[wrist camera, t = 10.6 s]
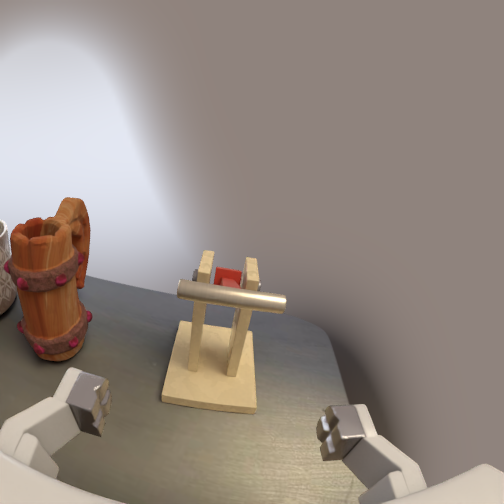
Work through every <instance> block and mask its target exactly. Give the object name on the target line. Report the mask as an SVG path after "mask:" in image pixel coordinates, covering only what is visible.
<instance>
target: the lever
mask: <svg viewBox="0 0 504 504" xmlns="http://www.w3.org/2000/svg"><path fill="white" fill-rule="evenodd" d="M241 274H242V272H241V271H239V270H234V269H228V268H222V267H216V273H215V279H214V284H207V283H201V282H195V281H189V280H183V279H180V281H179V284H178V289H177V298H180V299H185V300H191V301H197V302H203V303H209V304H216V305H222V306H228V307H235V308H242V309H249V310H256V311H263V312H271V313H279V314H283V313H284V310H285V308H286V296H285V295H279V294H272V293H265V292H259V291H252V290H245V289H241V288H240V281H241Z"/></svg>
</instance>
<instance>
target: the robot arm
mask: <svg viewBox="0 0 504 504" xmlns="http://www.w3.org/2000/svg"><path fill="white" fill-rule="evenodd" d="M108 386H109V382H108V379H107V378H103V377H100V376H97V375H94V374H91V373H87V372H84V371H82V370H78V369H75V368H72V367H70V368H69V369H68V370H67V371H66V373H65V375H64V377H63V379H62V381H61V383H60V384H59V386H58V388H57V390H56V392H55V394H54V396H53V398H52V397H48V398H46V399H44V400H42V401H41V402H39V403H37V404H35V405H33V406H31V407H29V408H28V409H26V410H24V411H22V412H20V413H18V414H16V415H14V416H13V417H11V418H9V419H7V420H5V422H4V424H3V426H2V428H1V430H0V504H126V503H122V502H119V501H115V500H112V499H108V498H105V497H102V496H99V495H96V494H93V493H90V492H87V491H84V490H81V489H79V488H76V487H73V486H71V485H68V484H66V483H63V482H61V481H59V480H56V478H57V474H58V471H59V467H58V465H57V464H56V463H55V462H54V460H53V459H52V458H51V455H52V454H54V453H55V452H56V451H57V450H59V449H60V448H61V447H63V446H64V445H65V444H66V443H68V442H69V441H70V440H71V439H73V438H74V437H75V436H76V435H78V434H79V433H80V432H81V431H83V432H86V433H89V434H92V435H96V436H99V437H101V436H102V433H103V430H104V427H105V424H106V423H105V420H104V417H105V416H107V415H108V414H109V412H110V409H111V403H112V395H111V392H110V391H109V390H108ZM325 414H326V415H324V416H322V417H321V418H320V419H319V421H318V423H317V428H316V429H317V437H318V439H319V440H320V441H321V442H322V445H321V446H320V451H321V455H322V459H323V461H331V460H342V461H343V462H344V463H345V465H346V466H347V467H348V468H349V469H350V470H351V471H352V472H353V473H354V474H355V476H356V477H357V478H358V479H359V480H360V481H361V482H362V483H363V484H364V485H365V486H366V487H367V488H368V490H367V491H365V492H364V493H363V494H361V495H360V496H359V498H358V499H359V503H360V504H504V473H503V472H501V471H499V470H498V469H496V468H494V467H492V466H491V465H488V464H481V465H478V466H476V467H474V468H472V469H470V470H468V471H466V472H464V473H462V474H460V475H458V476H456V477H453V478H451V479H449V480H447V481H444V482H442V483H440V484H437V485H434V486H432V487H429V488H427V485H426V483H425V480H424V478H423V475H422V473H421V470H420V468H419V465H418V464H417V463H416V462H414V461H413V460H412V459H410V458H409V457H408V456H407V455H405V454H404V453H403V452H401V451H400V450H399V449H397V448H396V447H395V446H393V445H392V444H391V443H390V442H389V441H387V440H386V439H385V438H384V437H382V436H381V435H377V432H376V430H375V427H374V425H373V422H372V420H371V417H370V415H369V412H368V410H367V407H366V406H365V405H364V404H360V405H335V406H328V407H327V408H326V410H325Z"/></svg>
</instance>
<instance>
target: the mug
mask: <svg viewBox="0 0 504 504" xmlns="http://www.w3.org/2000/svg"><path fill="white" fill-rule="evenodd" d="M10 242H11V252H12V255H11V257H10V259H9V260H8V261H6V262H5V264H4V270H5V271H6V272H7V273H9V274H10V275H11V279H12V281H13V283H14V284H15V285H16V286H17V291H18V295H19V299H20V303H21V306H22V310H23V314H24V316H23V319H22V321H20V322H19V323H18V324H17V328H18V330H19V331H20V332H21V333H23V334H25V337H26V339H27V341H28V342H29V344H30V345H31V346H32V347H33V348H34V351H35V353H36V354H37V355H38V356H39V357H41V358H42V359H45V360H50V361H63V360H67V359H69V358H71V357H73V356H74V355H75V354H76V353H77V352H78V351H79V350H80V349H81V348H82V344H83V342H84V337H85V334H86V332H87V329H88V322H90V321H91V320H92V314H91V312H89V311H86V309H85V307H84V305H83V304H82V303H81V301H79V298H78V292H77V289H82V288H83V287H84V280H85V275H86V270H87V263H88V257H89V244H90V223H89V216H88V213H87V209H86V207H85V204H84V202H83V201H82V200H81V199H78V198H69V197H67V198H65V199H63V201H62V202H61V204H60V206H59V209H58V211H57V213H56V215H55V216H54V217H48V218H47V219H45V220H42V219H41V218H33V219H30V220H28V221H27V222H26V223H25V224H18V225H17V226H16V227H15V229H14V230H13V231H12V233H11V237H10Z"/></svg>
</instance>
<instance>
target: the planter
mask: <svg viewBox="0 0 504 504" xmlns="http://www.w3.org/2000/svg"><path fill="white" fill-rule="evenodd" d="M10 257H11V254H10V247H9V240H8V231H7V225H6V223H5V222H4V221H2V220H0V315H1V314H3V313H4V312H5V311H6V310H7V309H8V308H9V307H10V306H11V305H12V303H13V301H14V299H15V297H16V292H17V288H16V285H15V284H14V283H13V281H12V279H11V275H10V274H9V273H7V272H6V271H5V270H4V264H5V262H6V261H8V260H9V259H10Z"/></svg>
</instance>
